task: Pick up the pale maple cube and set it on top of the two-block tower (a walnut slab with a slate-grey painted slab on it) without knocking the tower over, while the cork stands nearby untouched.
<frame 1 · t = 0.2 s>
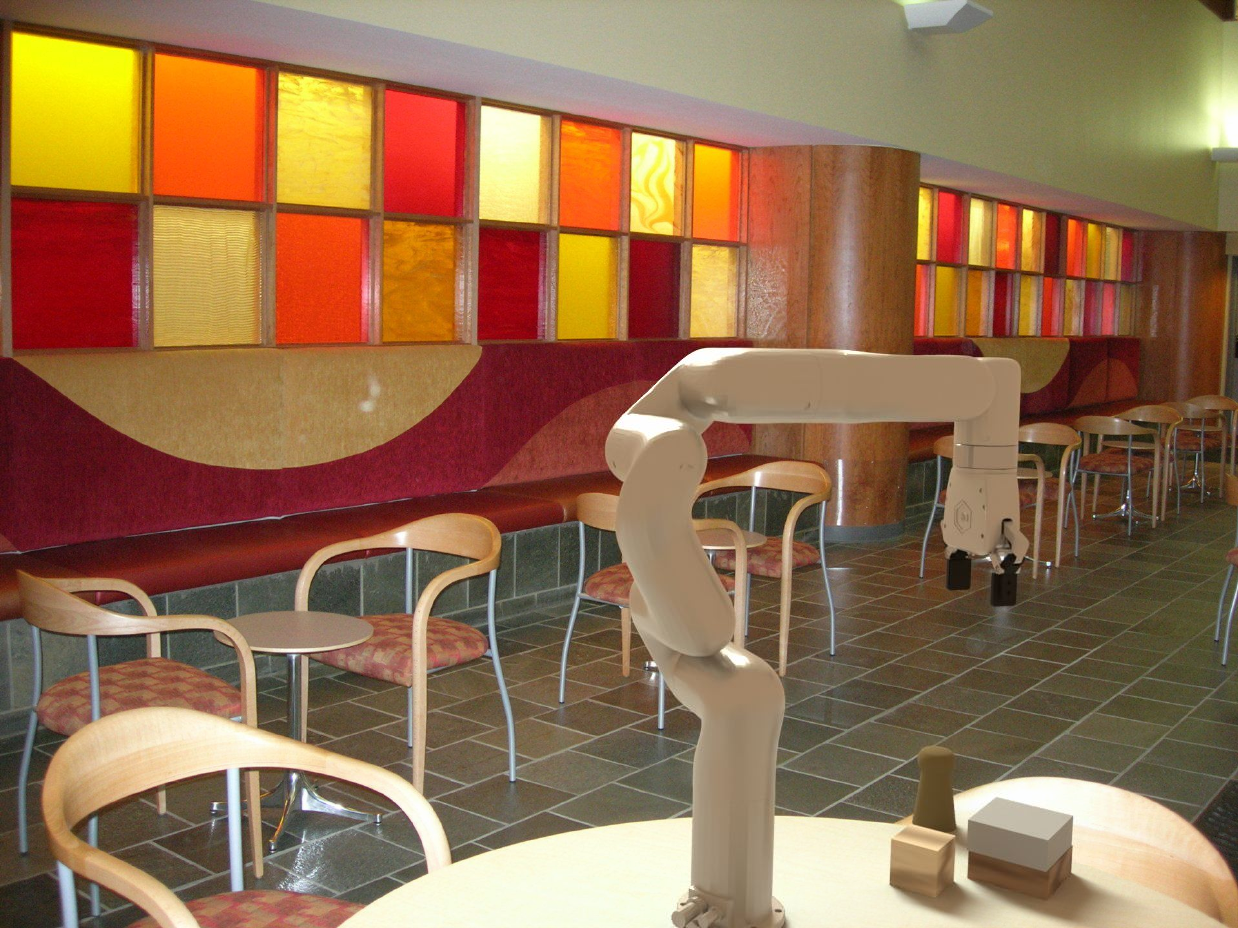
hand: (979, 597, 147), 36 cm above the table, tool pointing down, fingers open, 9 cm apart
block: (921, 883, 150), on the table
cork: (933, 825, 168), on the table
tower base: (1019, 877, 152), on the table, touching tower top
tower top: (1019, 847, 152), point 4 cm above the table, touching tower base
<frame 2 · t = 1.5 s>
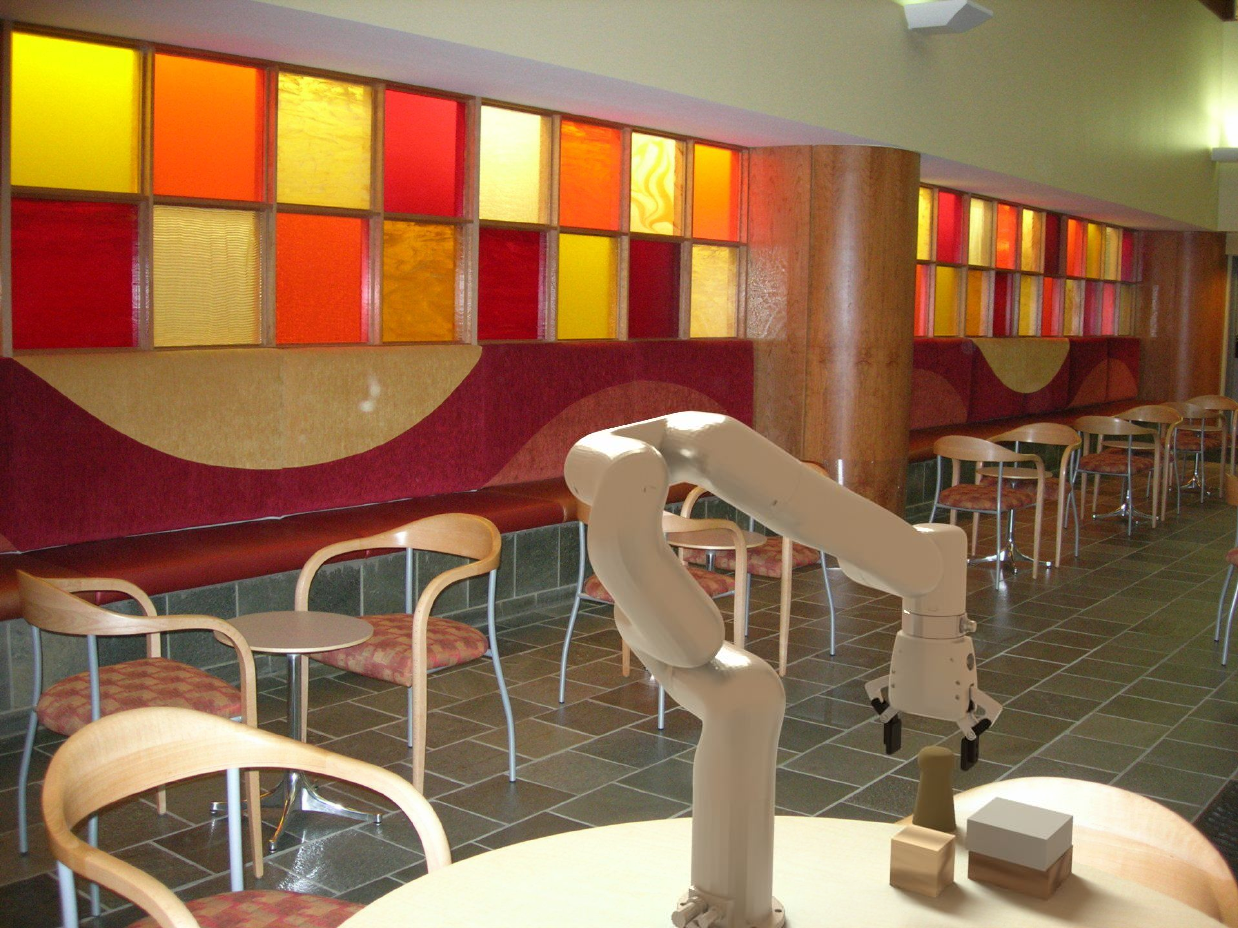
hand: (929, 759, 148), 16 cm above the table, tool pointing down, fingers open, 9 cm apart
nothing on the table moved.
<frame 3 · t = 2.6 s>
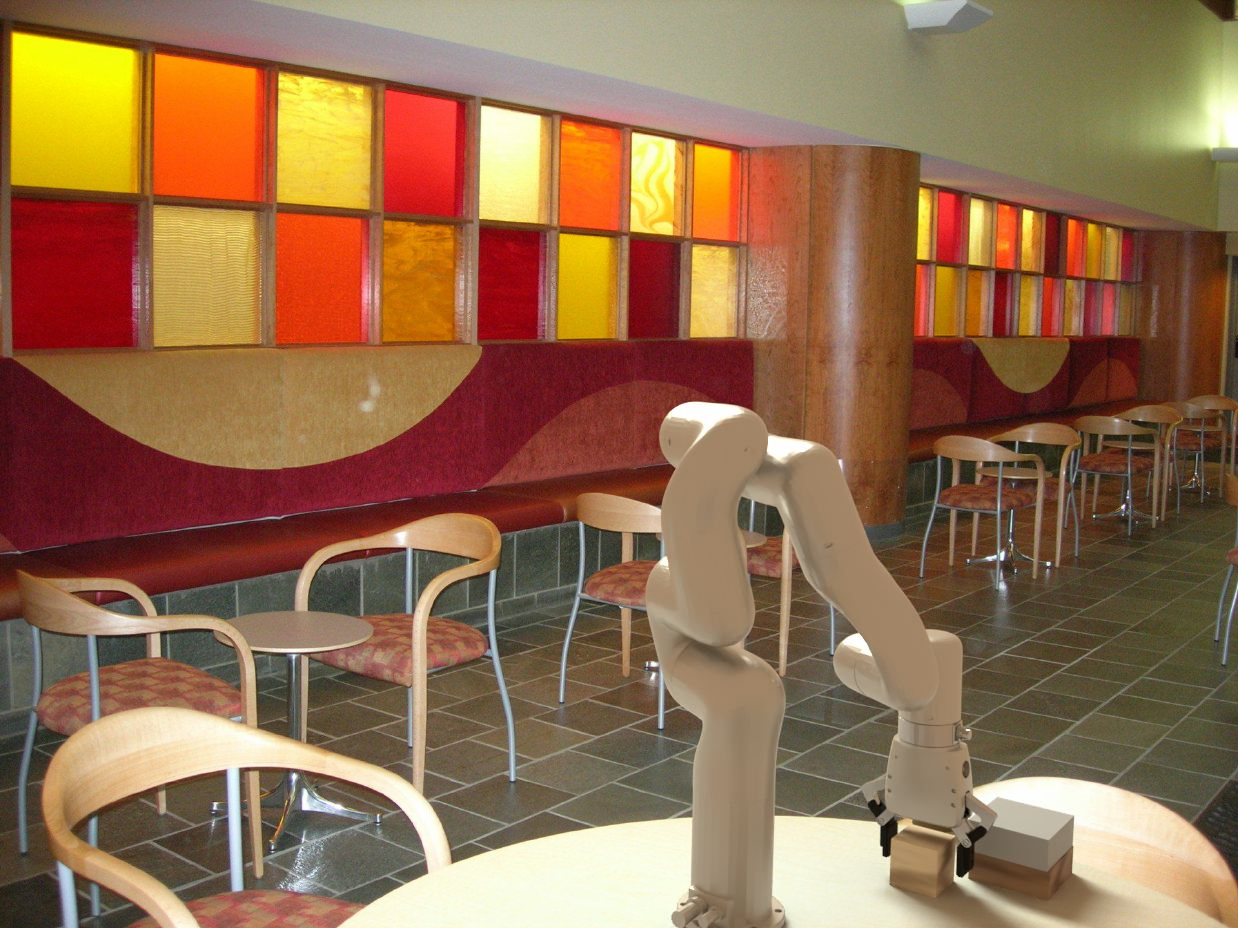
hand: (925, 863, 150), 2 cm above the table, tool pointing down, fingers open, 9 cm apart
tower base: (1020, 878, 152), on the table
tower top: (1020, 847, 152), point 4 cm above the table
everything else where it was.
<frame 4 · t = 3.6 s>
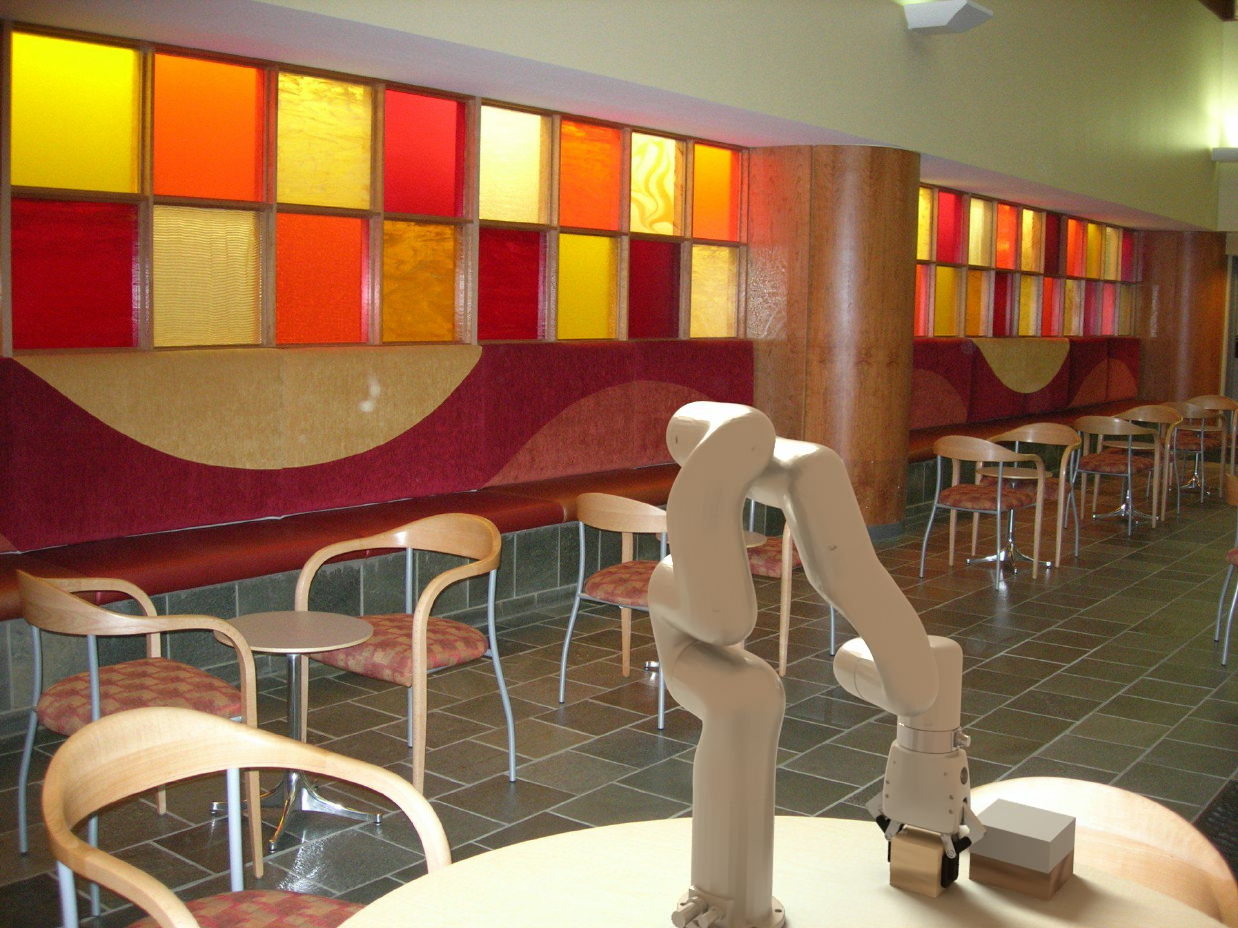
hand: (922, 875, 150), 1 cm above the table, tool pointing down, fingers closed on block, 6 cm apart
block: (921, 882, 150), on the table, touching gripper
tower base: (1021, 879, 152), on the table, touching tower top
tower top: (1021, 849, 152), point 4 cm above the table, touching tower base
everything else where it was.
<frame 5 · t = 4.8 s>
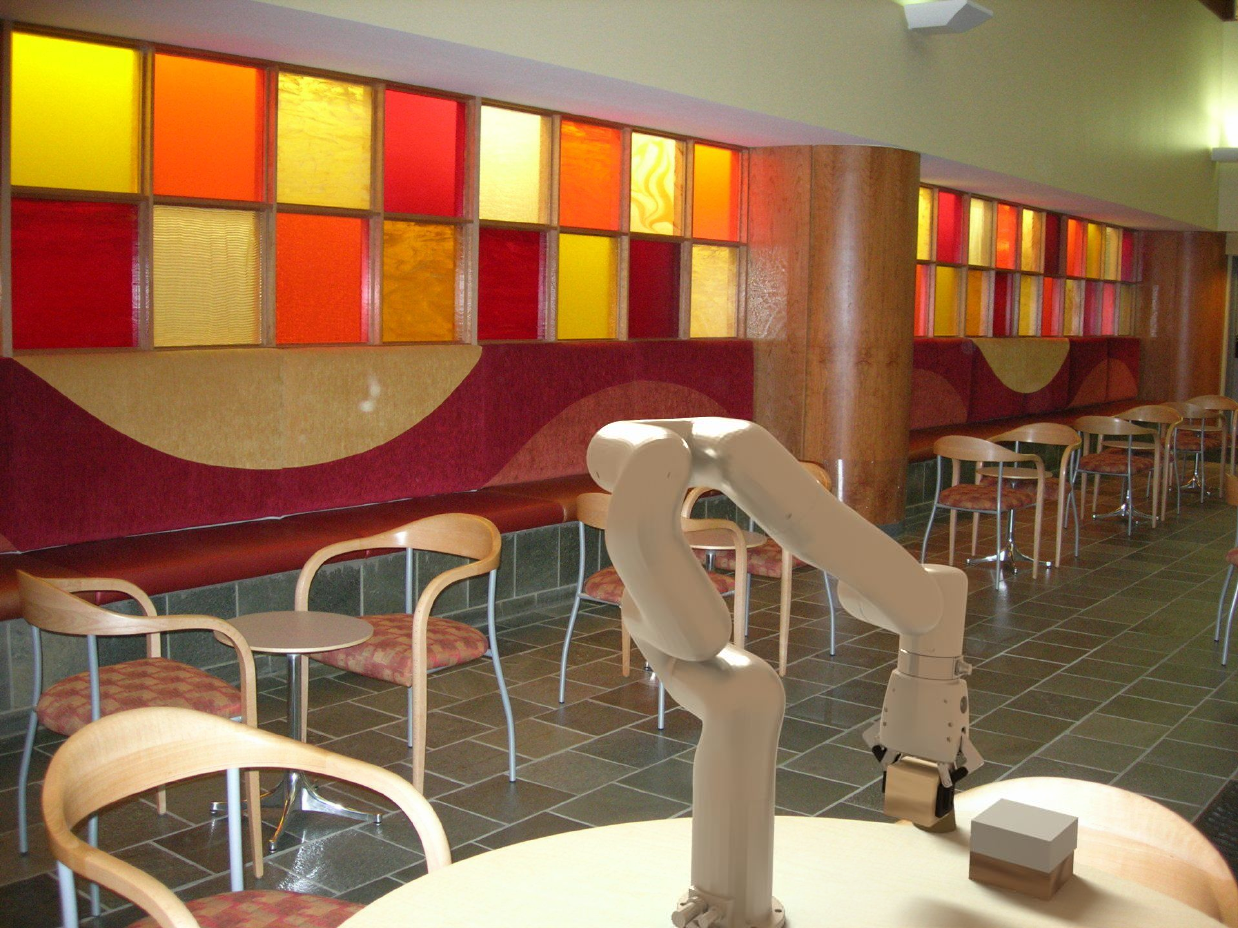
hand: (916, 806, 148), 10 cm above the table, tool pointing down, fingers closed on block, 6 cm apart
block: (915, 814, 148), point 9 cm above the table, touching gripper
everything else where it was.
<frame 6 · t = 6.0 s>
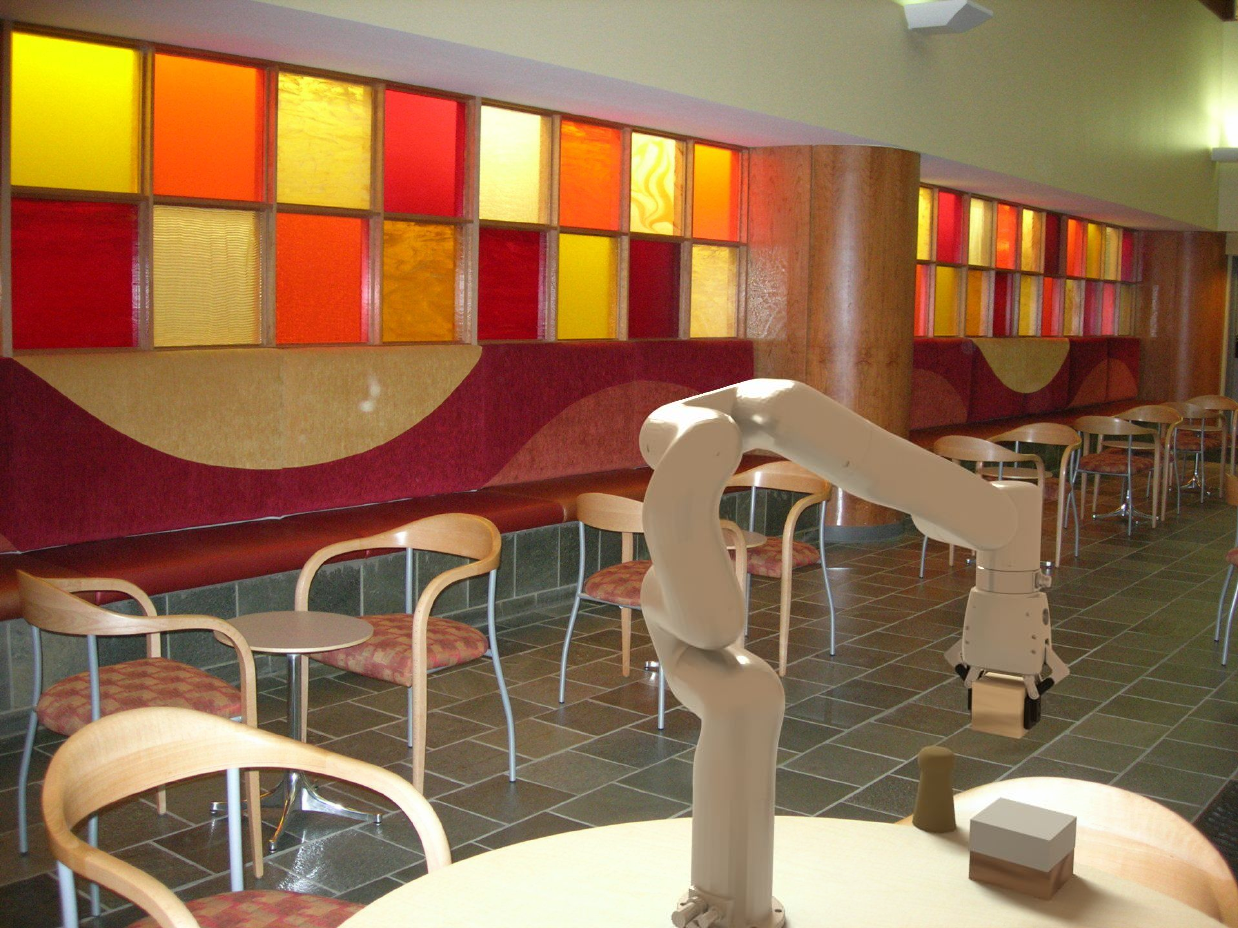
hand: (1003, 720, 150), 20 cm above the table, tool pointing down, fingers closed on block, 6 cm apart
block: (1003, 727, 150), point 19 cm above the table, touching gripper
tower base: (1021, 878, 152), on the table
tower top: (1022, 848, 152), point 4 cm above the table
everything else where it was.
when the fingers open (10 cm above the table, at t = 10.0 s): block drops 1 cm, point 8 cm above the table.
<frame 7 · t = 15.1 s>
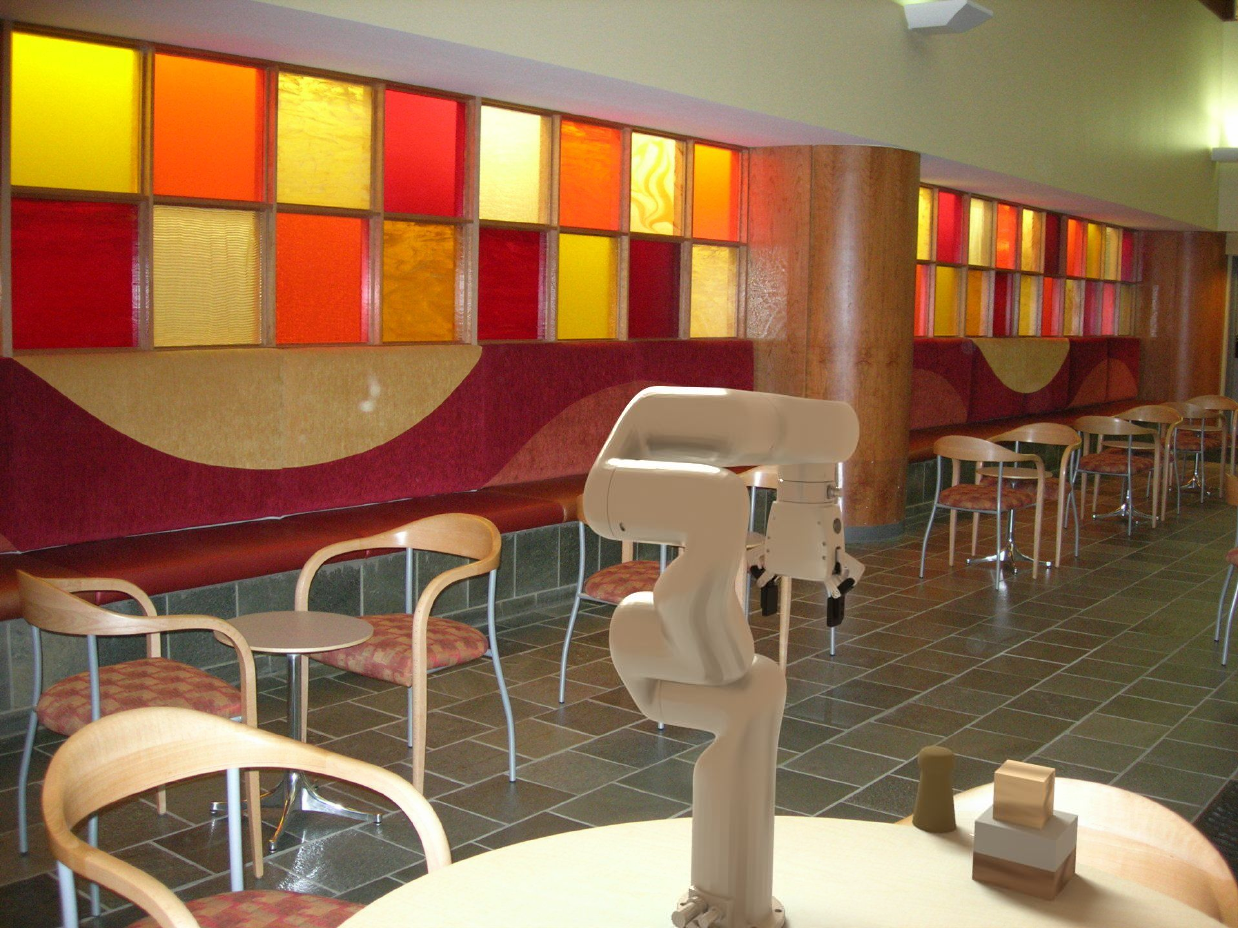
hand: (801, 620, 160), 30 cm above the table, tool pointing down, fingers open, 9 cm apart
block: (1023, 816, 152), point 8 cm above the table
tower base: (1023, 878, 152), on the table, touching tower top
tower top: (1025, 848, 152), point 4 cm above the table, touching tower base
everything else where it was.
at the end: block 0.5 cm off-centre on the tower top, point 4.0 cm above the tower top's base; block tilted 0°; tower top 0.1 cm off-centre on the tower base, point 4.0 cm above the tower base's base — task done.
